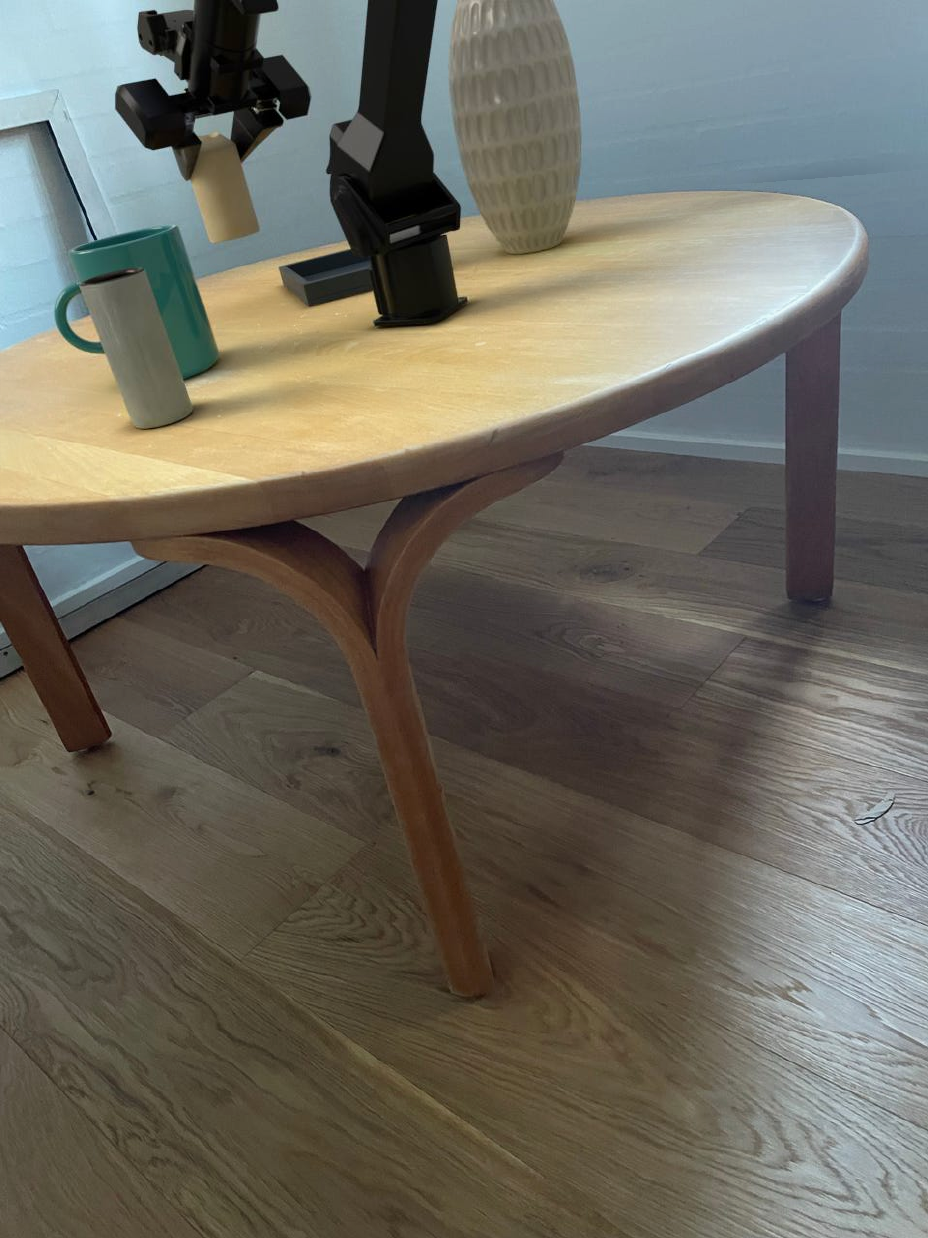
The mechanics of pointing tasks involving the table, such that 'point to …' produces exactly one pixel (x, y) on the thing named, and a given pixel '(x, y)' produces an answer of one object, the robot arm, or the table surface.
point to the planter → (137, 347)
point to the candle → (223, 190)
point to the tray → (327, 277)
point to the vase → (516, 118)
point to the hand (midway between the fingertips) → (209, 171)
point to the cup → (169, 284)
